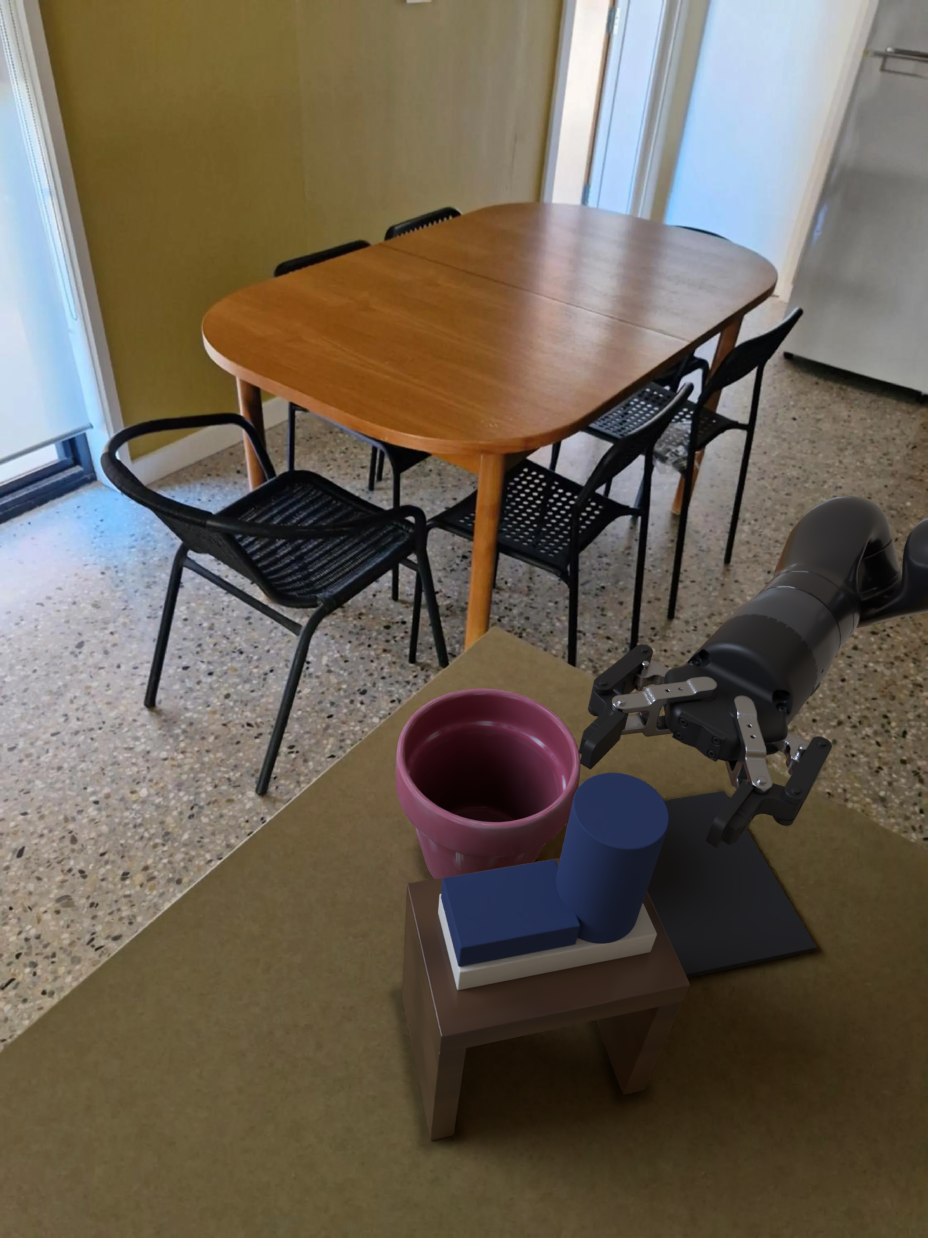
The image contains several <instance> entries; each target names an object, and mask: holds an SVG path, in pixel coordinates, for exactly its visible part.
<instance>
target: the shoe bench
mask: <svg viewBox="0 0 928 1238" xmlns="http://www.w3.org/2000/svg"><path fill="white" fill-rule="evenodd" d="M553 859H555V860H556V862H557V865H559V861H560V857H557V858H551V859H549V860H553ZM547 860H548V859H545V860H543V861H547ZM541 861H542V860H539V861H537V862H541ZM535 862H536V861H535ZM535 862H532V863H535ZM526 864H529V863H526ZM520 865H524V864H520ZM514 866H518V865H514ZM509 867H512V866H509ZM503 868H506V867H503ZM497 869H500V868H497ZM491 870H494V869H491ZM485 871H488V870H485ZM479 872H482V871H479ZM473 873H476V872H473ZM467 874H470V873H467ZM461 875H464V874H461ZM455 876H458V875H455ZM449 877H452V876H449ZM443 878H446V877H443ZM443 878H437V879H434V878H432V879H431V878H430V879H425V880H420V881H416V882H407V884H406V893H405V896H406V897H405V914H404V915H405V917H404V937H403V938H404V939H403V957H402V958H403V959H402V983H401V999H402V1005H403V1011H404V1015H405V1020H406V1025H407V1030H408V1036H409V1040H410V1045H411V1050H412V1055H413V1060H414V1067H415V1071H416V1076H417V1083H418V1087H419V1092H420V1096H421V1102H422V1106H423V1112H424V1117H425V1123H426V1128H427V1133H428V1137H429V1140H430V1141H435V1140H439V1139H443V1138H449V1137H452V1136H454V1135H455V1131H456V1130H455V1129H456V1121H457V1115H458V1110H459V1109H458V1108H459V1102H460V1096H461V1095H460V1094H461V1087H462V1080H463V1076H464V1075H463V1074H464V1068H465V1059H466V1053H467V1049H468V1048H473V1047H477V1046H482V1045H486V1044H491V1043H496V1042H501V1041H506V1040H510V1039H515V1038H519V1037H523V1036H529V1035H533V1034H537V1033H542V1032H547V1031H552V1030H557V1029H561V1028H566V1027H572V1026H577V1025H580V1024H585V1023H590V1022H594V1021H595V1022H596V1025H597V1027H598V1030H599V1033H600V1035H601V1038H602V1041H603V1045H604V1048H605V1050H606V1053H607V1055H608V1058H609V1061H610V1064H611V1067H612V1069H613V1072H614V1074H615V1077H616V1080H617V1083H618V1086H619V1088H620V1091H621V1094H622V1095H623V1096H625V1095H630V1094H633V1093H634V1094H635V1093H638V1092H642V1091H644V1090H645V1089H646V1087H647V1084H648V1082H649V1079H650V1077H651V1075H652V1073H653V1070H654V1068H655V1066H656V1064H657V1062H658V1059H659V1057H660V1054H661V1052H662V1050H663V1048H664V1046H665V1043H666V1041H667V1039H668V1037H669V1034H670V1032H671V1029H672V1026H673V1025H674V1022H675V1021H676V1018H677V1017H678V1014H679V1011H680V1009H681V1007H682V1004H683V1001H684V999H685V998H686V995H687V993H688V991H689V988H690V986H691V984H690V982H689V979H688V978H687V977H686V975H685V973H684V970H683V968H682V966H681V964H680V962H679V960H678V957H677V955H676V953H675V951H674V949H673V946H672V944H671V942H670V940H669V938H668V936H667V933H666V931H665V929H664V927H663V925H662V922H661V920H660V918H659V916H658V914H657V912H656V909H655V907H654V905H653V903H652V901H651V898H650V896H649V894H648V892H646V895H645V898H644V901H643V904H644V906H645V909H646V911H647V913H648V915H649V918H650V920H651V922H652V924H653V926H654V929H655V931H656V933H657V936H656V938H655V941H654V944H653V946H652V949H651V952H648V953H643V954H638V955H633V956H628V957H623V958H618V959H613V960H608V961H603V962H598V963H593V964H588V965H583V966H578V967H573V968H568V969H563V970H558V971H553V972H548V973H543V974H538V975H533V976H527V977H522V978H517V979H512V980H507V981H502V982H497V983H492V984H487V985H482V986H477V987H472V988H467V989H462V990H457V987H456V983H455V979H454V975H453V971H452V967H451V962H450V958H449V954H448V950H447V946H446V942H445V938H444V934H443V930H442V926H441V922H440V918H439V914H438V908H439V897H440V894H441V890H442V879H443Z"/></svg>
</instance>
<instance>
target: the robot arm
mask: <svg viewBox="0 0 928 1238" xmlns="http://www.w3.org/2000/svg"><path fill="white" fill-rule="evenodd" d="M901 564H902V565H901ZM901 564H900V560H899V556H898V552H897V548H896V546H895V541H894V538H893V535H892V529H891V526H890V522H889V520H888V518H887V515H886V513H885V512H884V511H883V509H882V508H881V507H880V506H879V505H878V504H877V503H875V501H872V500H870V499H869V498H865V497H862V496H857V495H842V496H836V497H833V498H830V499H827V500H825V501H822V502H820V503H819V504H817V505H815V506H813V507H812V508H811V509H809V510H808V511H807V512H805V514H803V515H802V517H800V518H799V519H798V520H797V522H796V523H795V524H794V526H793V527H792V529H791V531H790V532H789V534H788V536H787V538H786V540H785V542H784V545H783V548H782V550H781V553H780V556H779V557H778V561H777V563H776V565H775V568H774V572H773V576H772V579H771V580H770V581H769V582H768V583H767V584H766V585H764V586H763V588H761V590H760V591H759V592H758V593H757V594H756V595H755V596H753V598H751V599H749V600H748V601H747V602H745V603H744V604H742V605H741V606H739V607H738V608H737V609H736V610H735V611H734V612H733V614H731V615H730V616H729V617H728V618H727V620H725V621H724V622H723V623H722V624H721V626H720V627H719V628H717V630H715V632H713V634H712V635H711V636H710V637H709V638H707V640H705V642H704V643H703V644H702V645H701V646H700V647H699V648H698V649H697V650H696V651H695V652H694V653H693V655H691V657H690V658H689V659H688V660H687V661H686V662H685V663H684V664H682V665H678V666H676V667H672V668H668V667H666V666H665V665H663V664H661V663H659V662H657V661H656V660H654V659H652V658H653V655H654V650H653V648H652V647H651V646H650V645H648V644H643V643H642V644H637V645H636V646H635V647H634V648H632V649H631V650H630V651H628V652H627V653H626V654H625V655H623V656H622V657H621V658H619V660H617V661H616V662H615V663H613V664H612V665H611V666H609V667H608V668H606V669H605V670H604V671H603V672H602V673H600V674H599V675H597V677H595V678H594V679H593V683H592V687H591V692H590V697H589V701H588V706H587V711H588V713H589V714H590V715H592V716H593V717H596V718H595V719H594V720H593V721H592V722H591V723H590V724H589V725H588V726H587V727H585V729H584V730H583V731H582V735H581V739H580V744H579V747H578V749H579V752H578V753H579V754H580V764H581V765H582V766H583V767H585V768H586V769H588V770H593V768H594V767H595V766H596V765H597V764H598V763H599V762H600V761H601V760H602V759H603V758H604V757H605V756H606V755H607V754H608V753H609V752H610V750H612V749H613V747H614V746H616V745H617V744H618V743H619V742H620V740H621V737H622V736H625V735H633V734H642V735H643V736H644V737H647V738H648V737H657V736H664V735H665V736H666V735H671V738H672V739H674V740H676V741H678V742H680V743H681V744H683V745H686V746H689V747H692V748H694V749H696V750H697V751H698V752H700V753H701V755H703V756H704V757H706V758H708V759H710V760H711V761H713V762H715V763H717V762H718V760H719V761H723V762H725V766H726V770H727V774H728V778H729V782H730V785H731V787H734V788H735V791H734V793H732V795H731V797H730V798H729V800H728V802H727V803H726V804H725V806H724V807H723V808H722V810H721V811H720V812H719V813H718V815H717V816H716V818H715V819H714V821H713V823H712V825H711V828H710V831H709V833H708V836H707V838H706V842H708V843H709V844H711V845H712V846H714V847H716V848H718V846H719V845H720V844H721V842H722V841H723V842H725V843H727V844H728V845H731V844H733V843H735V842H737V841H738V839H739V838H740V837H741V835H742V834H743V832H744V831H745V830H746V828H747V829H748V827H749V825H750V824H751V823H752V822H753V820H754V819H755V817H757V816H758V815H767V816H771V817H772V818H773V821H775V823H777V824H778V825H780V826H783V827H790V826H792V825H793V824H794V822H795V820H796V818H797V816H798V815H799V813H800V811H801V809H802V806H803V805H804V804H805V802H806V800H807V799H808V796H809V794H810V792H811V791H812V788H813V787H814V785H815V783H816V781H817V780H818V778H819V776H820V774H821V772H822V769H823V767H824V765H825V763H826V761H827V758H828V757H829V755H830V753H831V750H832V748H833V745H832V742H831V741H830V740H829V739H828V738H827V737H824V736H821V735H820V736H819V735H817V736H816V735H815V736H814V737H812V739H811V740H810V741H808V740H805V739H803V738H802V737H799V736H797V735H795V734H793V733H791V732H789V724H790V723H791V722H792V721H793V719H794V718H795V717H796V716H797V714H798V713H799V712H800V710H801V709H802V707H803V706H804V705H805V704H806V702H807V701H808V700H809V699H810V697H812V696H813V695H815V693H816V692H817V691H818V689H819V688H820V687H821V683H822V681H823V680H824V679H825V677H826V675H827V674H828V672H829V670H830V668H831V667H832V664H833V661H834V659H835V658H836V656H837V655H838V654H839V652H841V650H842V648H843V646H844V645H846V643H847V642H848V641H849V639H850V638H851V637H852V635H853V633H854V632H855V630H856V629H860V628H864V627H870V626H873V625H877V624H881V623H884V622H888V621H891V620H896V619H900V618H904V617H909V616H915V615H920V614H926V613H928V517H925V518H923V519H921V520H919V521H918V523H916V524H915V525H914V526H913V527H912V529H911V530H910V532H909V533H908V535H907V537H906V540H905V543H904V546H903V552H902V563H901ZM644 688H645V689H644ZM634 690H636V691H637V692H634V693H632V692H633V691H634ZM662 708H663V713H664V715H660V714H661V710H662ZM633 713H636V714H633ZM778 752H781V753H782V754H783V755H784V756H785V766H786V767H787V768H788V770H787V774H789V775H790V777H789V778H788V780H787V782H786V784H785V785H781V784H778V783H774V782H773V779H772V776H771V773H770V770H769V766H768V763H767V760H766V759H767V756H770V755H775V754H777V753H778Z"/></svg>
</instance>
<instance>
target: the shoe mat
mask: <svg viewBox="0 0 928 1238" xmlns="http://www.w3.org/2000/svg"><path fill="white" fill-rule="evenodd" d="M729 799H730V798H729V796H728V795H727V793H726V791H725V790H721V791H716V792H709V793H703V794H696V795H690V796H684V797H677V798H671V799H663V800H664V801H665V803H666V806H667V808H668V812H669V826H668V829H667V832H666V835H665V838H664V841H663V844H662V847H661V850H660V853H659V856H658V859H657V862H656V865H655V868H654V871H653V874H652V877H651V880H650V883H649V886H648V889H647V892H648V894H649V896H650V898H651V901H652V903H653V905H654V907H655V909H656V912H657V914H658V916H659V918H660V920H661V922H662V925H663V927H664V929H665V931H666V933H667V936H668V938H669V940H670V942H671V944H672V946H673V949H674V951H675V953H676V955H677V957H678V960H679V962H680V964H681V966H682V968H683V970H684V973H685V975H686V977H687V979H688V978H693V977H697V976H702V975H706V974H707V975H708V974H712V973H716V972H721V971H726V970H731V969H736V968H740V967H745V966H750V965H755V964H760V963H764V962H770V961H775V960H779V959H783V958H788V957H793V956H799V955H802V954H803V955H804V954H808V953H812V952H815V951H816V950H817V948H818V947H817V945H816V943H815V942H814V939H813V938H812V936H811V935H810V933H809V931H808V930H807V928H806V927H805V925H804V923H803V921H802V920H801V918H800V916H799V914H798V912H797V911H796V909H795V908H794V906H793V904H792V903H791V901H790V900H789V897H788V896H787V895H786V892H785V890H784V889H783V887H782V886H781V884H780V883H779V880H778V879H777V877H776V875H775V874H774V873H773V871H772V869H771V867H770V866H769V864H768V863H767V861H766V859H765V856H764V855H763V854H762V852H761V851H760V849H759V847H758V845H757V844H756V842H755V840H754V839H753V836H752V835H751V834H750V832H749V830H748V827H747V828H746V830H745V831H744V832H743V834H742V835H741V837H740V838H739V839H738V841H737V842H735V843H733V844H731V845H728V844H727V843H725V842H723V841H722V842H721V844H720V845H719V846H718V848H716V847H714V846H712V845H711V844H709V843H708V842H706V838H707V836H708V833H709V831H710V828H711V825H712V823H713V821H714V819H715V818H716V816H717V815H718V813H719V812H720V811H721V810H722V808H723V807H724V806H725V804H726V803H727V802H728V800H729Z"/></svg>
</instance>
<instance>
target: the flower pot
mask: <svg viewBox="0 0 928 1238" xmlns="http://www.w3.org/2000/svg"><path fill="white" fill-rule="evenodd" d="M578 752H579V747H578V743H577V741H576V738H575V737H574V735H573V733H572V732H571V730H570V729H569V727H568V726H567V724H566V723H565V722H564V721H563V719H561V718H560V717H559V716H558V714H556V713H555V712H554V711H552V710H551V709H550V708H548V707H547V706H546V705H545V704H542V703H541V702H539V701H537V700H535V699H533V698H531V697H528V696H526V695H523V694H520V693H517V692H514V691H509V690H505V689H504V690H503V689H498V688H497V689H496V688H469V689H462V690H457V691H452V692H449V693H446V694H442V695H440V696H438V697H436V698H433V699H432V700H430V701H428V702H427V703H425V704H424V705H422V706H421V707H420V708H418V709H417V710H416V711H415V712H414V713H413V714H412V715H411V716H410V717H409V718H408V720H407V722H406V723H405V724H404V726H403V728H402V730H401V732H400V734H399V738H398V742H397V746H396V756H395V789H396V795H397V799H398V802H399V804H400V806H401V808H402V811H403V812H404V814H405V816H406V817H407V819H408V820H409V822H410V823H411V824H412V825H413V826H414V829H415V833H416V836H417V840H418V844H419V846H420V849H421V852H422V854H423V858H424V859H423V860H424V862H425V865H426V868H427V870H428V872H429V873H430V875H431V876H432V879H437V878H443V877H449V876H455V875H461V874H467V873H473V872H479V871H485V870H491V869H497V868H503V867H509V866H514V865H520V864H526V863H532V862H536V860H537V859H538V856H539V855H540V854H541V851H542V850H543V848H544V847H545V845H546V844H547V843H548V842H550V841H551V840H552V839H554V838H555V837H556V836H557V835H558V834H559V833H560V832H561V831H562V830H563V829H564V828H565V826H566V825H567V824H568V821H569V816H570V812H571V807H572V803H573V798H574V795H575V792H576V791H577V789H578V787H579V786H580V785H579V784H580V778H581V768H582V766H581V765H582V764H580V759H581V754H580V753H578Z"/></svg>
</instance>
